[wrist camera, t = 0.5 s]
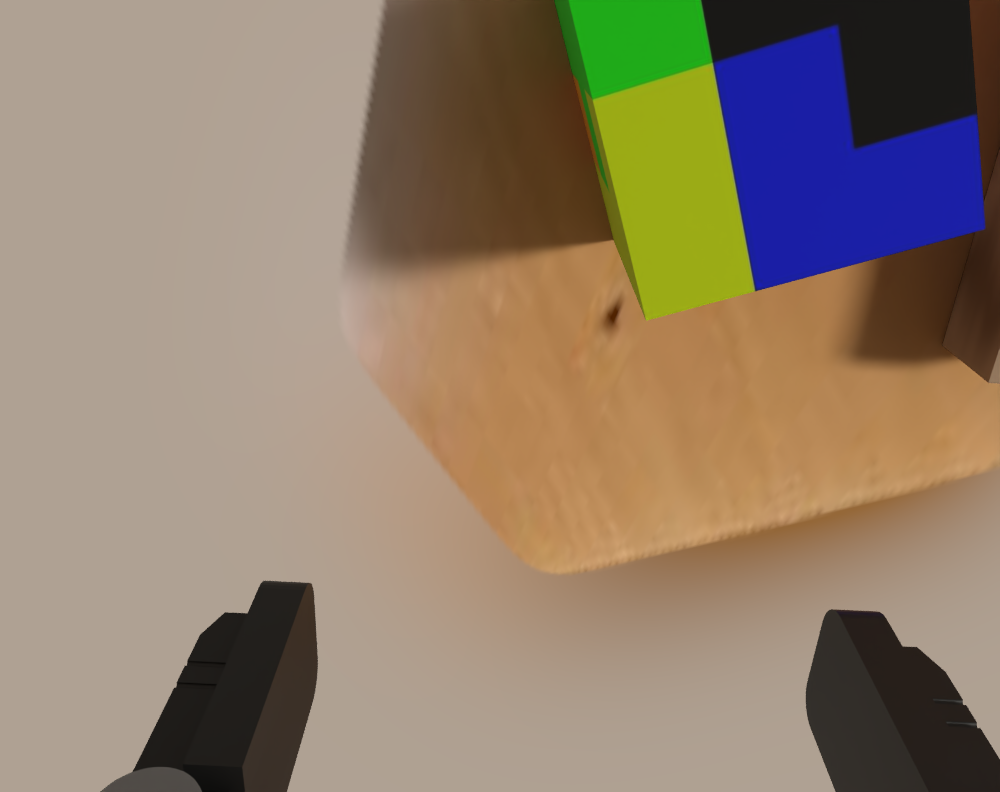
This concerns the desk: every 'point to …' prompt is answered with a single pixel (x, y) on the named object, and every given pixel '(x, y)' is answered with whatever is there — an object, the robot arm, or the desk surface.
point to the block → (980, 295)
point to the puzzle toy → (774, 136)
